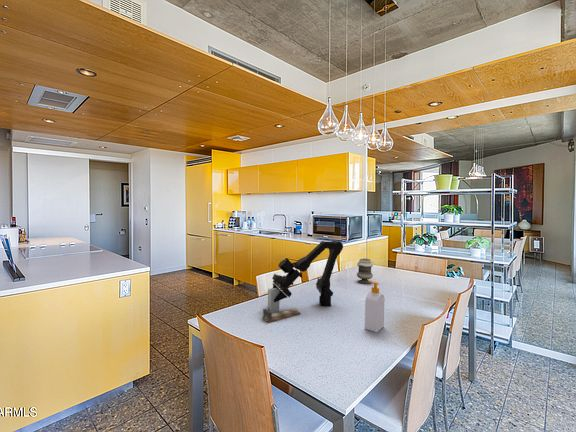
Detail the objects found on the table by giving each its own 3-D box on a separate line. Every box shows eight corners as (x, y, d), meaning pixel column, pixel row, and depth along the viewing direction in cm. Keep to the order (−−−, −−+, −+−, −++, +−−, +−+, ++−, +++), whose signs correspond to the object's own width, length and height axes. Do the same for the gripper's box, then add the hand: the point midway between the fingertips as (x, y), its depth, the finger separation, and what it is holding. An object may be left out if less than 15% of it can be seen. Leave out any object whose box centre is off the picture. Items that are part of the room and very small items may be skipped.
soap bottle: (370, 322, 148) (371, 278, 147) (383, 326, 143) (385, 281, 142) (362, 328, 141) (364, 282, 140) (376, 333, 136) (378, 285, 135)
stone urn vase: (356, 283, 219) (356, 260, 218) (357, 279, 230) (357, 257, 230) (372, 285, 215) (373, 261, 215) (372, 281, 227) (373, 258, 226)
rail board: (292, 310, 164) (293, 301, 163) (300, 314, 158) (300, 305, 158) (262, 318, 152) (262, 308, 152) (269, 322, 146) (269, 313, 146)
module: (276, 308, 166) (276, 288, 165) (279, 312, 160) (279, 291, 160) (267, 309, 164) (267, 288, 164) (270, 313, 159) (270, 291, 158)
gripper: (276, 265, 171) (257, 285, 168) (286, 273, 154) (266, 295, 151) (288, 277, 174) (270, 297, 171) (299, 286, 157) (280, 308, 154)
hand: (271, 299), depth 162 cm, fingers open, 9 cm apart
